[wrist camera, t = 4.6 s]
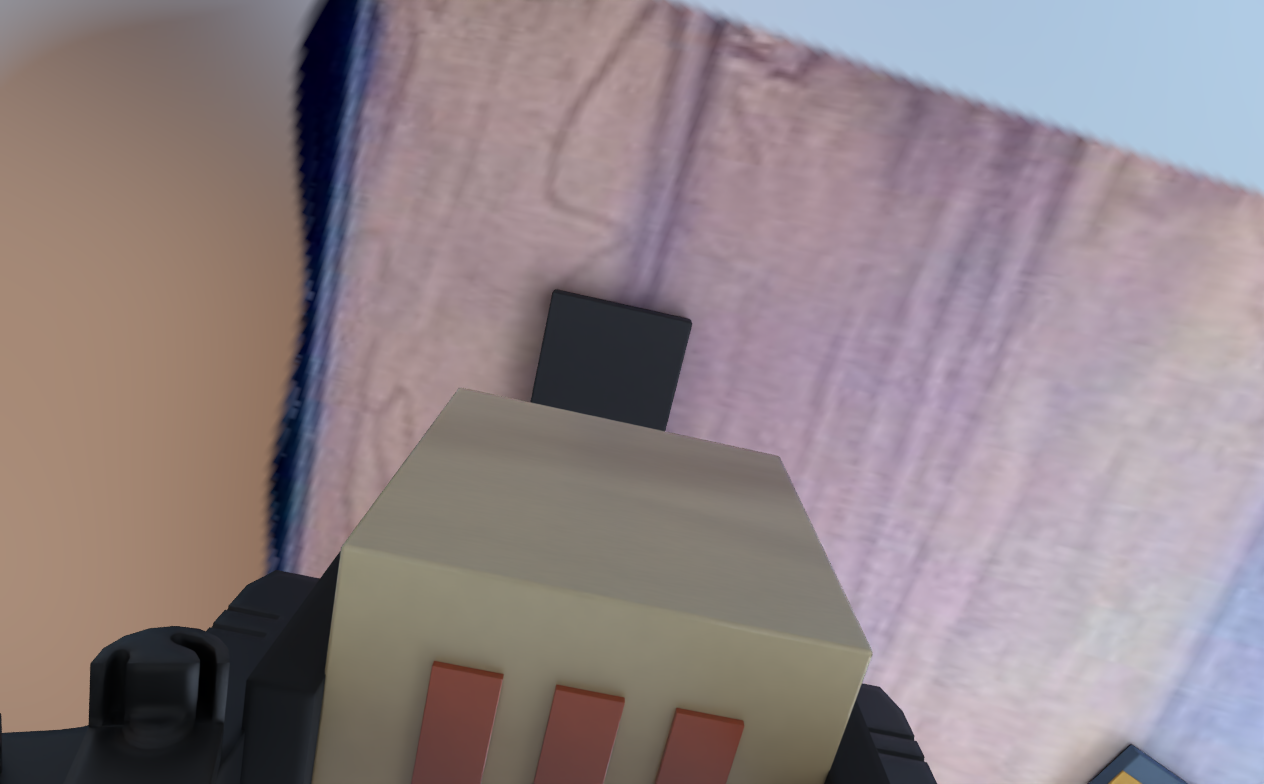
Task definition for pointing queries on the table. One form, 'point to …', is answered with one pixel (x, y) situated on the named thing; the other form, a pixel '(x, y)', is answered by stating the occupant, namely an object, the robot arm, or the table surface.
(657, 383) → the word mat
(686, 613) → the red striped cream cube
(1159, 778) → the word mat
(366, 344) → the table surface
